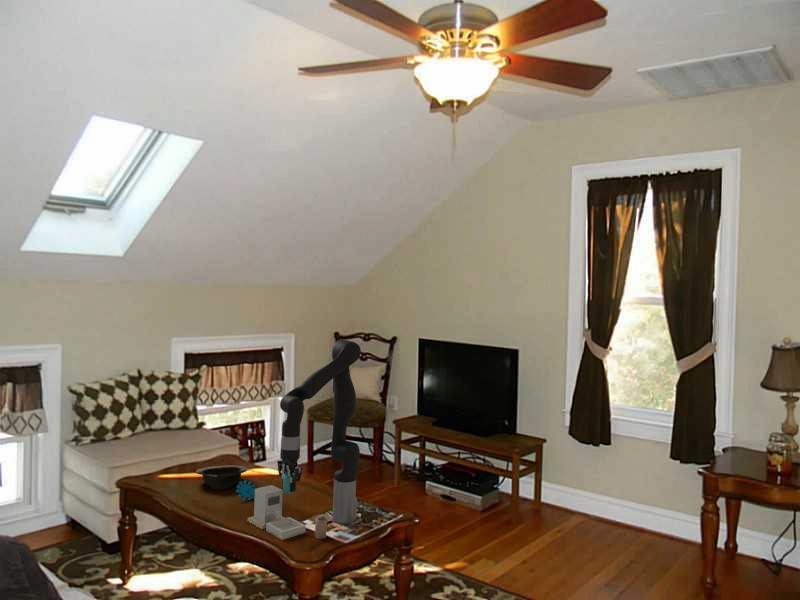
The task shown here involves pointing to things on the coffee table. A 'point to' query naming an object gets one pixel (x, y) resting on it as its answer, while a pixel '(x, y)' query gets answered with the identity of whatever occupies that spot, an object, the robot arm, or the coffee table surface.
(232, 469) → the stone bowl
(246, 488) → the gear
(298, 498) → the coffee table surface
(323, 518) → the beige cylinder
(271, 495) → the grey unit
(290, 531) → the tray
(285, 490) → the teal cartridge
